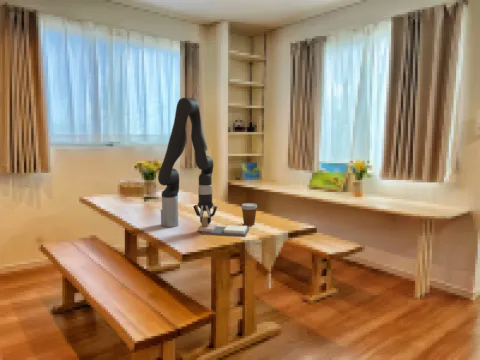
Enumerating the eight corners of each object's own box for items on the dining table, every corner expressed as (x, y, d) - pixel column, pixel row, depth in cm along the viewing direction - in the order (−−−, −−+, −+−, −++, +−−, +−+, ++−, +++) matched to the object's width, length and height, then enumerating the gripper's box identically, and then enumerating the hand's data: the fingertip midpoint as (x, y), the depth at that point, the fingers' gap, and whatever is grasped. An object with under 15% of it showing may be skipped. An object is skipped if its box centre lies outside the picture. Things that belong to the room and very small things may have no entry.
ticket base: (201, 233, 189) (201, 229, 189) (208, 227, 202) (208, 223, 202) (245, 236, 185) (245, 231, 184) (249, 229, 197) (249, 225, 197)
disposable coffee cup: (247, 227, 202) (247, 206, 201) (237, 223, 210) (238, 204, 208) (260, 224, 208) (260, 204, 206) (250, 221, 216) (250, 202, 214)
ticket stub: (197, 230, 191) (197, 219, 190) (203, 226, 201) (202, 214, 200) (212, 231, 190) (211, 219, 189) (216, 226, 199) (216, 215, 198)
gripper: (190, 193, 190) (191, 224, 193) (216, 194, 188) (216, 225, 190) (195, 191, 198) (195, 221, 200) (219, 192, 195) (219, 222, 197)
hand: (205, 223), depth 195 cm, fingers open, 3 cm apart
